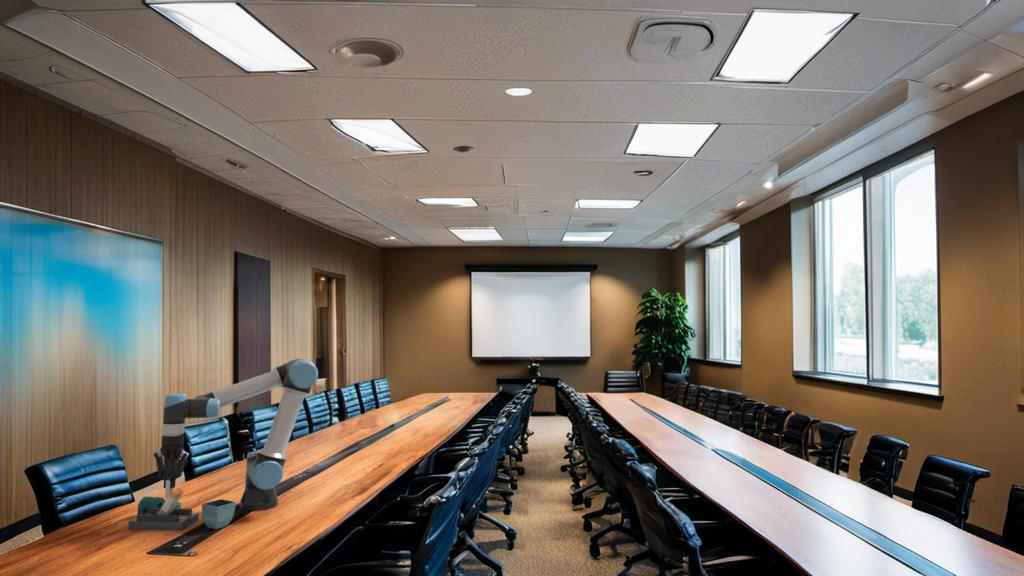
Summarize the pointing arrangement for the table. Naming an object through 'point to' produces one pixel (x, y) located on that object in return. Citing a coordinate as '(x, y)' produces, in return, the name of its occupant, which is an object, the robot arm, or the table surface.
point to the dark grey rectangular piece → (164, 517)
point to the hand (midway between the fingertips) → (168, 497)
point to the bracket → (152, 504)
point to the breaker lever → (170, 502)
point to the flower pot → (218, 513)
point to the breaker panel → (164, 523)
